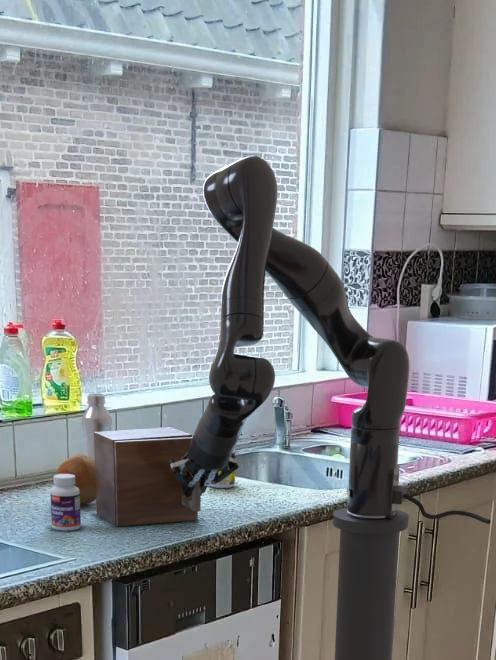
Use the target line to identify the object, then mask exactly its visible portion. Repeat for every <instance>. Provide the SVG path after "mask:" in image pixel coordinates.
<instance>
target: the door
mask: <svg viewBox="0 0 496 660" xmlns="http://www.w3.org/2000/svg"><path fill="white" fill-rule="evenodd" d="M192 437H193V436H192ZM192 437H185V438H166V439H147V440H128V441H114V453H115V490H116V525H117V527H125V526H140V525H151V524H164V523H165V524H166V523H176V522H178V523H179V522H190V521H198V520H199V517H198V515H199V512H200V511H201V509H202V506H201V504H202V503H201V501H202V500H201V498H202V495H201V477H200V479H199V481H196V483H195V485H194V489H193V491H192V493H191V496H190V497H186V496H185V495H184V494H183V490H182V486H180V485H179V483H178V482H177V480H176V479H175V477H174V475H173V474H172V471H171V467H170V464H169V461H170V460H172V459H175V460H176V462H178V461H180V460H183V457H184V455H186V454H187V453H188V450H189V445H190V442H191V440H192ZM186 471H187V467H186V466H185V467H184V468H183V471H182V472H183V474H185V473H186Z"/></svg>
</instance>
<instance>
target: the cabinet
mask: <svg viewBox="0 0 496 660" xmlns="http://www.w3.org/2000/svg"><path fill="white" fill-rule="evenodd" d="M185 437H193V434H191V433H189V432H186V431H183V430H179V429H177V428H175V427H171V426H167V427H166V426H165V427H151V428H149V427H148V428H135V429H120V430H119V429H118V430H111V431H103V432H94V451H95V481H96V500H95V510H96V516H97V517H100V518H102V519H103V520H105V521H107V522H109V523H110V524H111V525H114V526H117V525H116V490H115V453H114V441H128V440H147V439H166V438H185ZM117 527H118V526H117Z"/></svg>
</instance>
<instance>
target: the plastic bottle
mask: <svg viewBox="0 0 496 660" xmlns="http://www.w3.org/2000/svg"><path fill="white" fill-rule="evenodd" d="M86 399H87V401H86V404H87V405H88V406H87V408H86V409H85V411H84V413H83V415H82V417H81V426H82V433H83V439H84V453H85V454H84V455H85V456H87V457H89V458H91V459H92V460H94V461H95V451H94V432H103V431H112V427H113V419H112V415H111V414H110V413H109V411H108V409H107V407H105V405H106V397H105V394H104V393H100V392H99V393H96V392H95V393H93V392H92V393H87V397H86Z"/></svg>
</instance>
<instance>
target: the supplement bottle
mask: <svg viewBox="0 0 496 660" xmlns="http://www.w3.org/2000/svg"><path fill="white" fill-rule="evenodd" d="M232 455H235V456H236V448H234V451H233V453H232ZM218 474H219V475H220V474H221V470H220V471H219V472H218ZM235 484H236V470H235V471H234V472H232V473H231V474H230V475H228V476H227V477H226V478H224V479H223V480H222V481H220V482H219V483H214V482H211V484H210V485H209V486H210V487H212V488H215V489H228V488H229V489H230V488H233V487H234V486H235Z"/></svg>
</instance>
